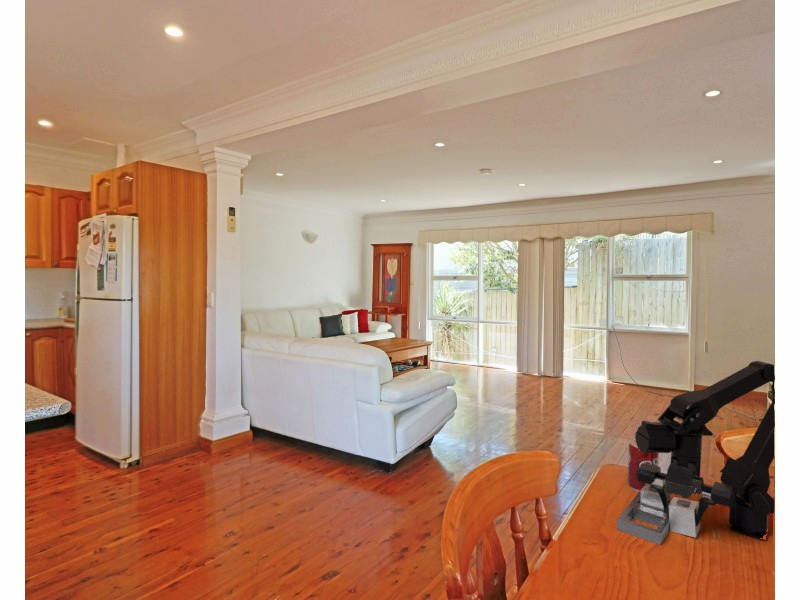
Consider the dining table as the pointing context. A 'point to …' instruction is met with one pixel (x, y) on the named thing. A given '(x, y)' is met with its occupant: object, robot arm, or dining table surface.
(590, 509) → the dining table surface
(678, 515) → the block
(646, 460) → the soda can
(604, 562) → the dining table surface
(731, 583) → the dining table surface
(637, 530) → the grey flat frame
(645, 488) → the nut
